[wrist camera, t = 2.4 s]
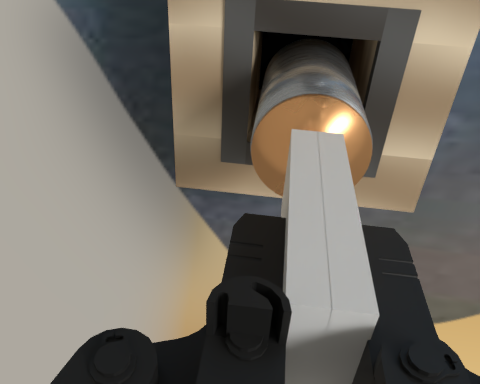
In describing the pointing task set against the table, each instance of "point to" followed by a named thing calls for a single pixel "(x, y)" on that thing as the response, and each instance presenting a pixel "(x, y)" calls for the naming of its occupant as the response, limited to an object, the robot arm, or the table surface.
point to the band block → (363, 69)
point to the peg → (308, 109)
